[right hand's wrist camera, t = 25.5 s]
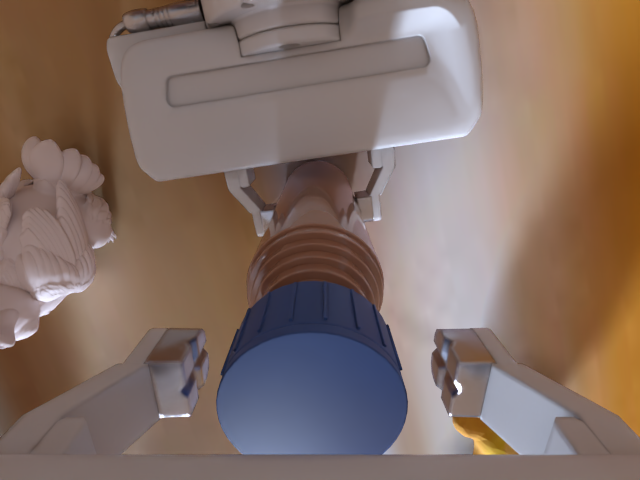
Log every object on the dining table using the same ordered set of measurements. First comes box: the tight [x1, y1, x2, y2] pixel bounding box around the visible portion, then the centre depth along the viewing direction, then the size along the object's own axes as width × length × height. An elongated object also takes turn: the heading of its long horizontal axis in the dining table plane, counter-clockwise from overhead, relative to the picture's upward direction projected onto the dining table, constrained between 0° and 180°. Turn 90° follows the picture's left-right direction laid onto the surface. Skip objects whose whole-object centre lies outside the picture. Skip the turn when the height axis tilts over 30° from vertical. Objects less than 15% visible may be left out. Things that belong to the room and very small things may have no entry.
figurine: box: [0, 136, 117, 349], centre depth 23 cm, size 8×15×13 cm, turn 162°
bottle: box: [247, 161, 384, 312], centre depth 19 cm, size 5×5×21 cm
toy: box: [453, 417, 519, 455], centre depth 35 cm, size 11×6×15 cm
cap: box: [216, 281, 408, 455], centre depth 9 cm, size 4×5×2 cm
